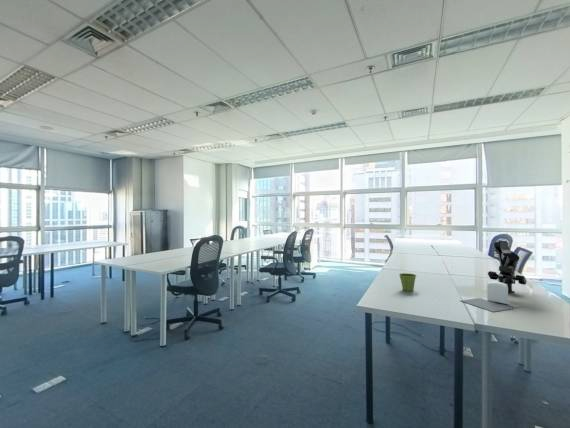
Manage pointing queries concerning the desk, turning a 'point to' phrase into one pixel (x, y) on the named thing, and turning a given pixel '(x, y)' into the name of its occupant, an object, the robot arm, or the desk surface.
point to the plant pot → (407, 281)
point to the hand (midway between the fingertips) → (502, 288)
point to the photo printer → (497, 292)
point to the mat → (486, 305)
